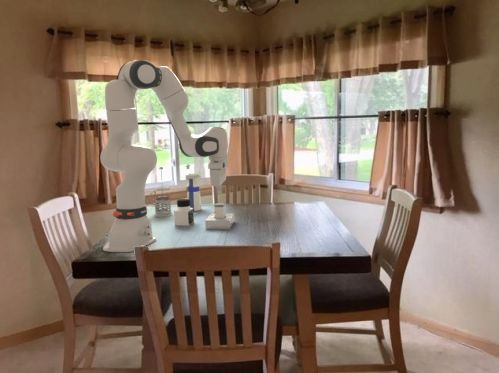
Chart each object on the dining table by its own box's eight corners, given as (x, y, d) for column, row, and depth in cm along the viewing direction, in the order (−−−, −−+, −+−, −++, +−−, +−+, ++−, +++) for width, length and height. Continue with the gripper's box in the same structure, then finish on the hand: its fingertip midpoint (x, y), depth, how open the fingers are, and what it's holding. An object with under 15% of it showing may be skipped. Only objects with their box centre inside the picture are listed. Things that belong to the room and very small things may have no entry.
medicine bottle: (189, 226, 191) (188, 200, 189) (174, 225, 192) (173, 200, 190) (194, 222, 197) (193, 197, 196) (180, 221, 199) (178, 197, 197)
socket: (229, 229, 184) (229, 218, 183) (205, 229, 185) (205, 218, 184) (234, 221, 197) (233, 211, 197) (211, 221, 198) (211, 211, 198)
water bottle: (183, 210, 224) (181, 164, 220) (190, 207, 232) (188, 163, 228) (197, 211, 221) (195, 164, 217) (203, 208, 229) (202, 163, 225)
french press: (170, 216, 210) (168, 167, 206) (148, 216, 210) (145, 168, 206) (174, 212, 220) (172, 165, 216) (153, 212, 220) (150, 166, 216)
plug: (223, 224, 189) (223, 205, 187) (215, 224, 189) (214, 205, 188) (225, 222, 193) (224, 203, 191) (216, 222, 193) (216, 203, 192)
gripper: (215, 160, 197) (216, 189, 199) (207, 165, 177) (208, 197, 179) (228, 160, 196) (229, 189, 199) (221, 165, 176) (222, 197, 178)
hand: (219, 193), depth 189 cm, fingers closed
